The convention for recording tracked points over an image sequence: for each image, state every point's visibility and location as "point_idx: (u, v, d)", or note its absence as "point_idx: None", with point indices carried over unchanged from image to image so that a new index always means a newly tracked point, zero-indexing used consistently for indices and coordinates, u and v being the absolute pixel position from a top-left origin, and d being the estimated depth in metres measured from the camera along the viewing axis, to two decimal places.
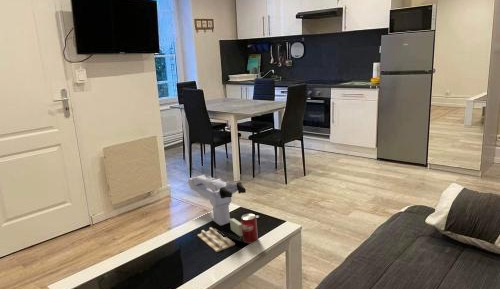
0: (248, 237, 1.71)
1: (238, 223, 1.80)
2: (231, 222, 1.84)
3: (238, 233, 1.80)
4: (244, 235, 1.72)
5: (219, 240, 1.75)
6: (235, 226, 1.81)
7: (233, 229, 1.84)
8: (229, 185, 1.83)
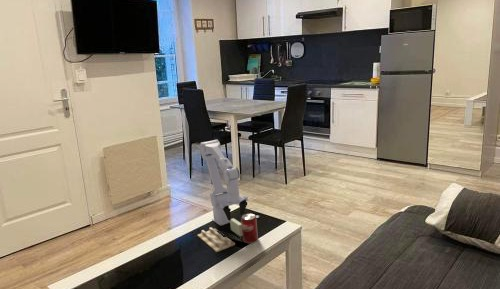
0: (248, 237, 1.71)
1: (238, 223, 1.80)
2: (231, 222, 1.84)
3: (238, 233, 1.80)
4: (244, 235, 1.72)
5: (219, 240, 1.75)
6: (235, 226, 1.81)
7: (233, 229, 1.84)
8: None
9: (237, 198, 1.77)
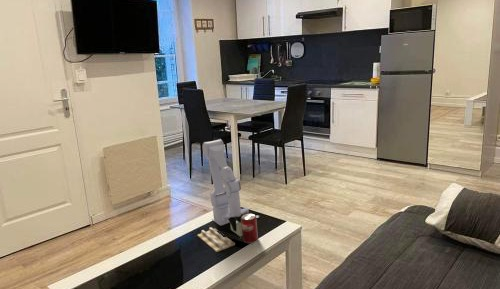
0: (248, 237, 1.71)
1: (238, 223, 1.80)
2: None
3: (238, 233, 1.80)
4: (244, 235, 1.72)
5: (219, 240, 1.75)
6: None
7: None
8: None
9: (238, 210, 1.78)
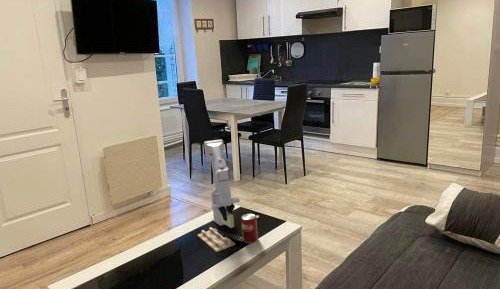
0: (248, 237, 1.71)
1: (229, 214, 1.76)
2: None
3: (229, 224, 1.76)
4: (244, 235, 1.72)
5: (219, 240, 1.75)
6: None
7: (224, 221, 1.80)
8: None
9: (229, 199, 1.74)
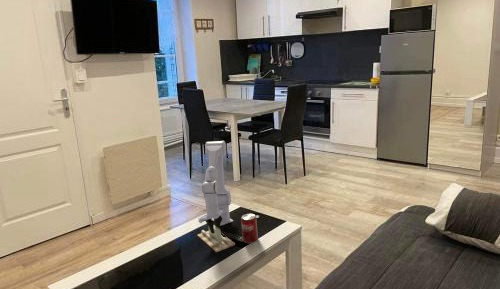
0: (248, 237, 1.71)
1: (216, 228, 1.74)
2: None
3: (216, 239, 1.74)
4: (244, 235, 1.72)
5: None
6: None
7: (211, 235, 1.78)
8: None
9: (216, 212, 1.72)
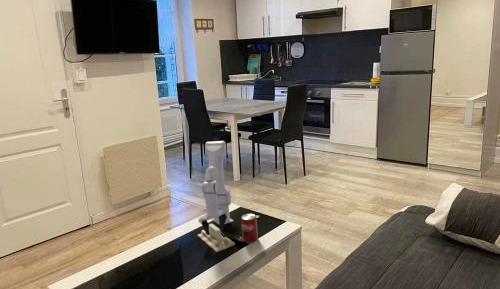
0: (248, 237, 1.71)
1: (216, 229, 1.74)
2: (209, 228, 1.78)
3: (216, 239, 1.74)
4: (244, 235, 1.72)
5: None
6: (213, 231, 1.75)
7: (211, 235, 1.78)
8: None
9: (216, 212, 1.72)
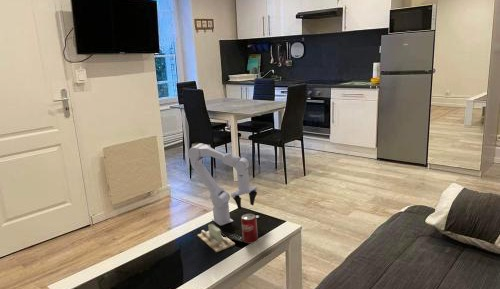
0: (248, 237, 1.71)
1: (216, 229, 1.74)
2: (209, 228, 1.78)
3: (216, 239, 1.74)
4: (244, 235, 1.72)
5: None
6: (213, 231, 1.75)
7: (211, 235, 1.78)
8: None
9: (247, 188, 1.85)
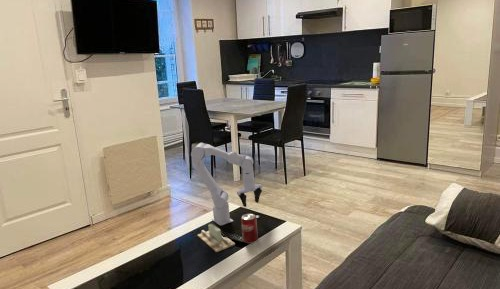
0: (248, 237, 1.71)
1: (216, 229, 1.74)
2: (209, 228, 1.78)
3: (216, 239, 1.74)
4: (244, 235, 1.72)
5: None
6: (213, 231, 1.75)
7: (211, 235, 1.78)
8: None
9: (252, 185, 1.88)
